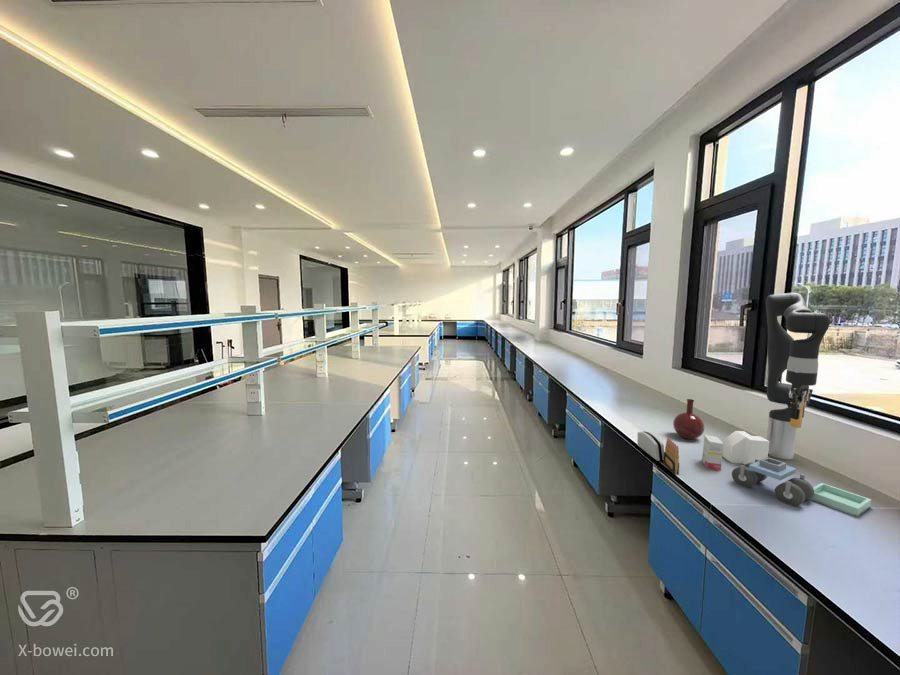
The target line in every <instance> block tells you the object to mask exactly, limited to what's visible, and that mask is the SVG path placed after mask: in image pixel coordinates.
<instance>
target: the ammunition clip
mask: <svg viewBox="0 0 900 675" xmlns="http://www.w3.org/2000/svg"><path fill="white" fill-rule="evenodd" d="M665 442H666V443H665V446H664V460H662V462H663V464H664V465H665V467H666V468H668V469H669V471H670V472H671V473H672V474H673V475H680V461H679V460H680V456H679V455H680V452H679V450H680V449H679V446H678V445H677V444H676V443H675V442H674V441H673V440H671V438H670V437H668V436H667V439H666V441H665Z"/></svg>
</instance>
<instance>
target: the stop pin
mask: <svg viewBox="0 0 900 675" xmlns="http://www.w3.org/2000/svg"><path fill="white" fill-rule="evenodd" d="M797 400H800V399H797ZM803 405H804V402H803V403H801V408H800V416H799V419H797V420H796V419H792V418H791V421H790V426H792V427H796V429H800V428H802V425H803V424H802V422H803V418H802V415H803Z"/></svg>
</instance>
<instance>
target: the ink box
mask: <svg viewBox="0 0 900 675" xmlns="http://www.w3.org/2000/svg"><path fill="white" fill-rule="evenodd" d="M722 452H723V441H721V440H720V438H719V437H718V436H715V435H707V434H704V435H703V445H702V458H701V461H702V463H703V464H704V466H705V467H706V468H707V469H709V470H715V471H721V470H722V462H723V460H722V459H723V456H722Z"/></svg>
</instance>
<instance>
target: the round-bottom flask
mask: <svg viewBox="0 0 900 675" xmlns="http://www.w3.org/2000/svg"><path fill="white" fill-rule="evenodd" d="M686 402H687V403H686V411H685V412H681V413H678V414H677V415H676V416H675V417H674V419H673V422H672V424H673V425H672V426H673V429H674V431H675V432H676V433H677V435H678V436H680V437H682V438H683V439H687V440H694V439H699V438H700V437H701V436H702V435H703V433H704V432H705V422H704V421H703V419H702V418H701V417H700V416H699V415H697V414H696V413H693V412H694V402H695V399H692V398H691V399H689V398H687V399H686Z"/></svg>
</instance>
